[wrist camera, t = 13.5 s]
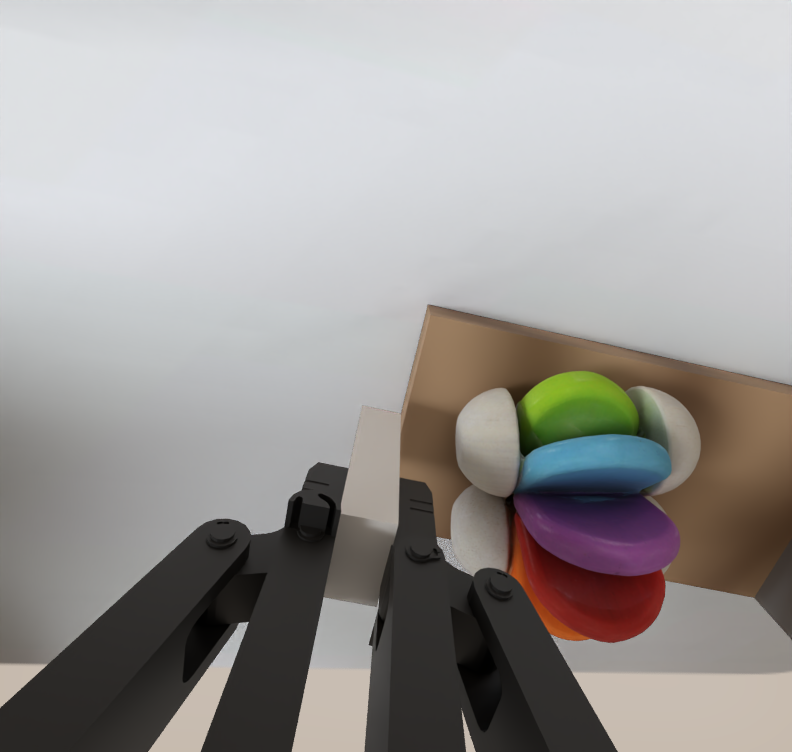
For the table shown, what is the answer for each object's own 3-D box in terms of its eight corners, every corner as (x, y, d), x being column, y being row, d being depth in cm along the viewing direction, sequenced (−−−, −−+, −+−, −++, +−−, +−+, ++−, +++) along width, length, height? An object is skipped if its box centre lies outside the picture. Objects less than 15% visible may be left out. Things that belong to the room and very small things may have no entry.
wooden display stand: (379, 499, 23) (373, 578, 18) (427, 304, 20) (436, 337, 15) (753, 572, 24) (842, 664, 19) (859, 400, 21) (999, 460, 16)
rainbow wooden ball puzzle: (444, 550, 22) (463, 709, 15) (456, 351, 18) (488, 437, 11) (627, 554, 22) (731, 715, 15) (672, 354, 18) (834, 444, 11)
